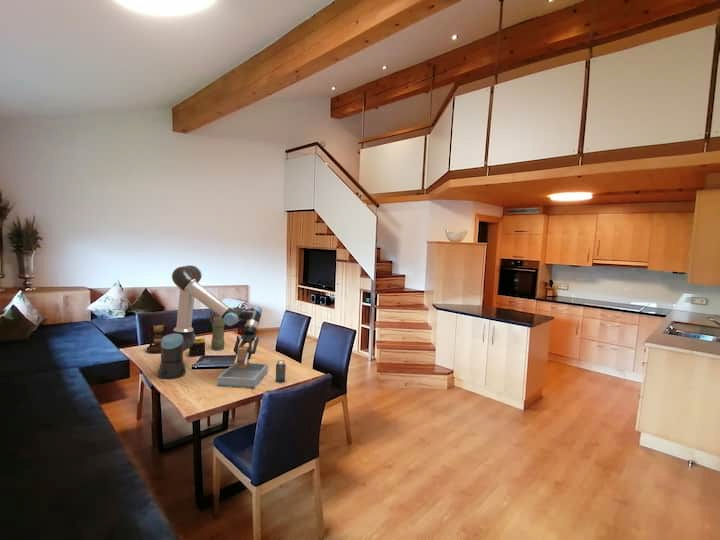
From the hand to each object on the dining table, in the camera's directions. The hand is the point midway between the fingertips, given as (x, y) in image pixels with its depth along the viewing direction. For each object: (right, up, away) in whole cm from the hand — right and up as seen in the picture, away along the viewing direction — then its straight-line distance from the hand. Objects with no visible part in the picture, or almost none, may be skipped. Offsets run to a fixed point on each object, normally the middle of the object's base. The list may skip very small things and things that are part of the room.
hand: (240, 363), depth 211 cm
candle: (-46, -6, +48) cm, 67 cm away
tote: (-1, -11, +9) cm, 14 cm away
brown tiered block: (-75, -4, +51) cm, 91 cm away
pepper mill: (+21, -12, +8) cm, 26 cm away
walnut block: (0, -4, +4) cm, 5 cm away
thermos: (-37, -5, +62) cm, 73 cm away
